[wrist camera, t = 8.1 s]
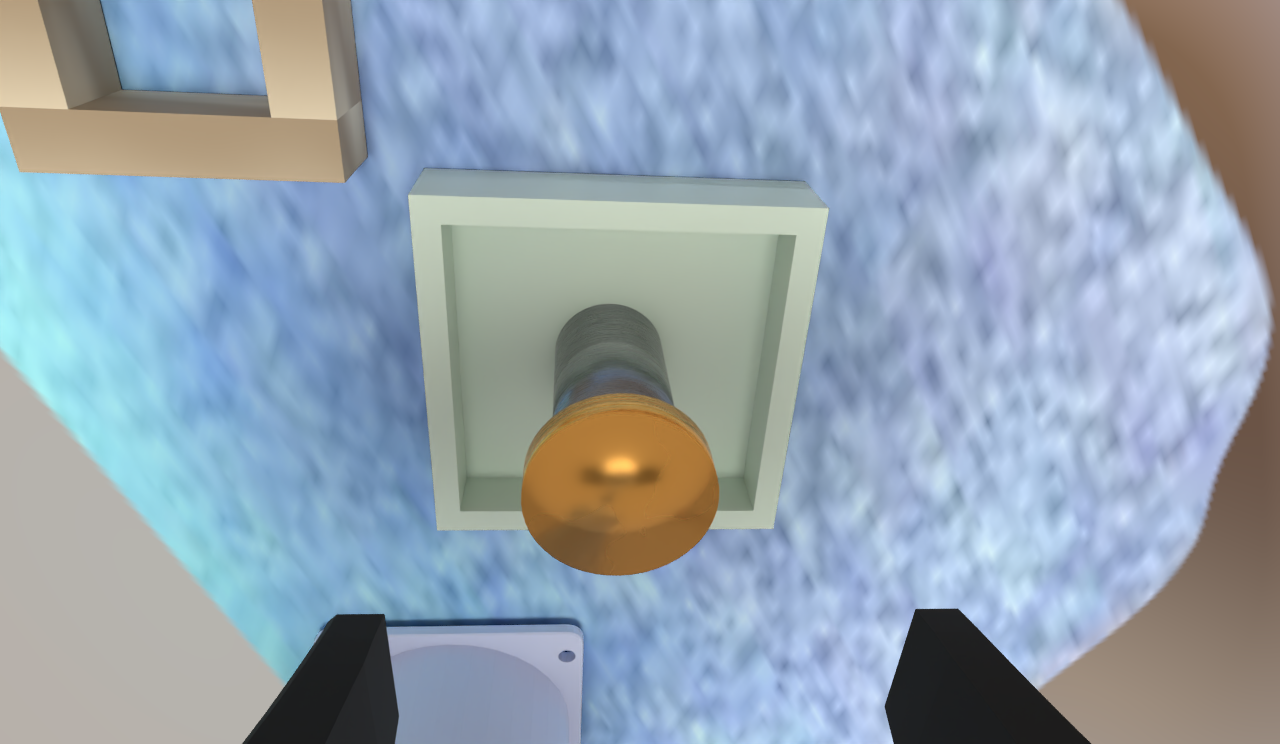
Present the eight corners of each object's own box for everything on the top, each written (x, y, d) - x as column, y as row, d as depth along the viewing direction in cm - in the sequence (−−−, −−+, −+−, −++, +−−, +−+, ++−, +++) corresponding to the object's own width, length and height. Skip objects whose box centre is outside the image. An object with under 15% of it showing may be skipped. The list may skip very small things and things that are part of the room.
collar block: (367, 157, 17) (344, 182, 16) (76, 146, 17) (19, 172, 15) (331, -174, 15) (298, -187, 13) (-22, -200, 14) (-106, -217, 12)
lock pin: (678, 413, 21) (712, 572, 16) (537, 415, 20) (525, 578, 15) (685, 284, 19) (727, 414, 14) (531, 284, 19) (516, 418, 14)
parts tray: (757, 482, 23) (773, 528, 21) (448, 481, 22) (436, 530, 20) (804, 181, 18) (829, 208, 17) (424, 167, 18) (408, 194, 16)
